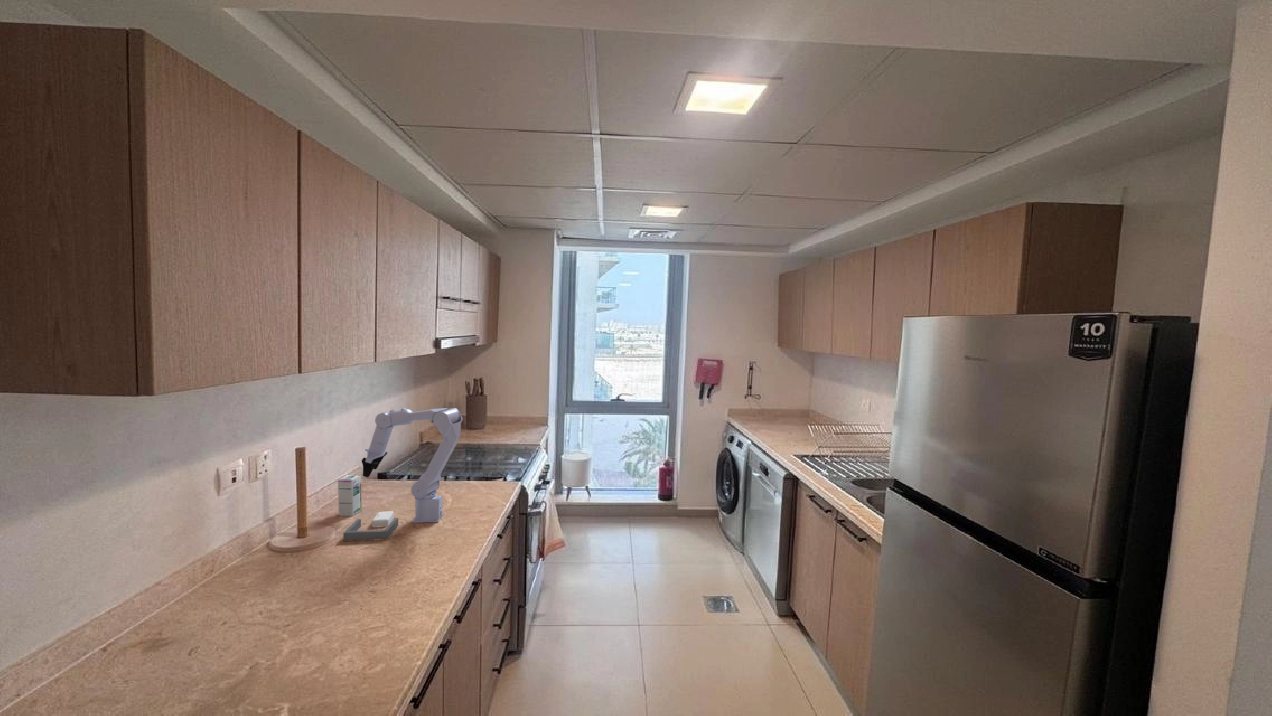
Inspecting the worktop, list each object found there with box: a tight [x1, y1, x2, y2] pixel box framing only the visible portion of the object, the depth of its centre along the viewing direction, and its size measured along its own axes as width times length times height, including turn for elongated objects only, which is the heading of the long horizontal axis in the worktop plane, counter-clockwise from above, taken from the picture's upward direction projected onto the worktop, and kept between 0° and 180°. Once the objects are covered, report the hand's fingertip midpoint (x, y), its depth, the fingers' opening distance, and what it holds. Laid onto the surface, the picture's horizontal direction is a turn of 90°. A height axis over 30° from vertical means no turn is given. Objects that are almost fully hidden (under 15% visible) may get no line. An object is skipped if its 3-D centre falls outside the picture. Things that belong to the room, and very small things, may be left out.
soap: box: [371, 510, 395, 528], centre depth 181 cm, size 9×6×3 cm, turn 13°
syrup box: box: [337, 474, 363, 517], centre depth 189 cm, size 6×6×14 cm
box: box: [342, 517, 399, 542], centre depth 172 cm, size 14×12×3 cm
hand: (369, 472), depth 189 cm, fingers open, 7 cm apart
